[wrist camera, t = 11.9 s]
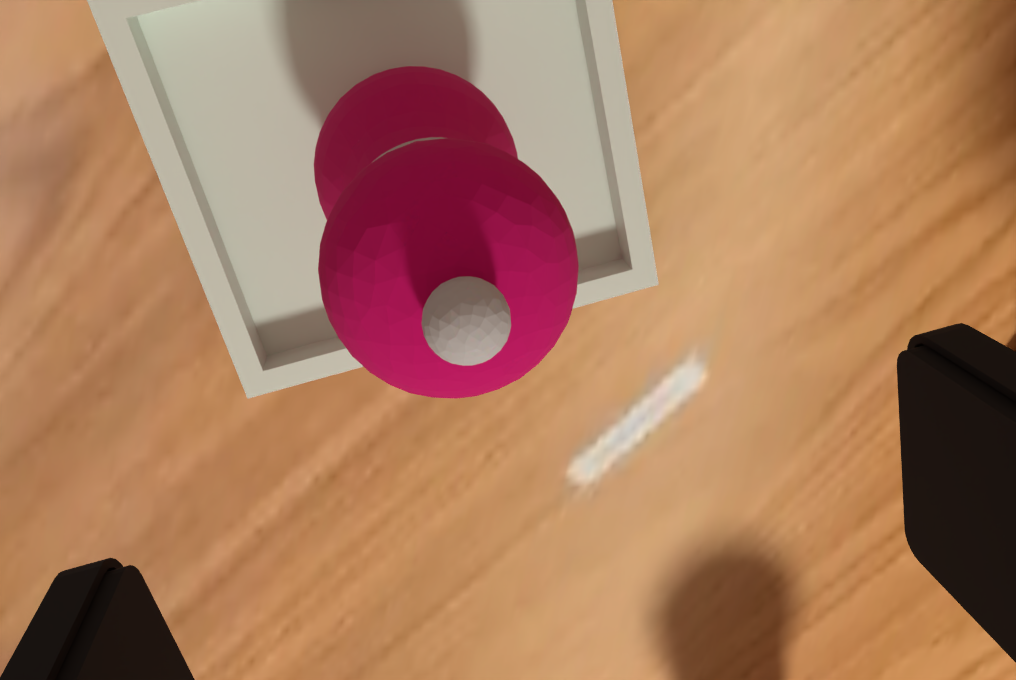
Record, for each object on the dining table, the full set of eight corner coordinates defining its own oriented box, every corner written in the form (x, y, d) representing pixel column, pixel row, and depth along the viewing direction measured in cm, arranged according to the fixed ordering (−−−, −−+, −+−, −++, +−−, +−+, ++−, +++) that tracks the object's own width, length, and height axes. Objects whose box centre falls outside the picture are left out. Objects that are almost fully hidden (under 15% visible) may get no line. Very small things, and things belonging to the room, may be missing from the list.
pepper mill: (309, 60, 32) (248, 154, 14) (497, 54, 33) (666, 133, 15) (328, 243, 35) (298, 520, 17) (501, 232, 36) (648, 482, 18)
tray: (576, -123, 32) (591, -130, 30) (642, 269, 39) (658, 284, 36) (102, -6, 31) (84, -6, 29) (253, 376, 37) (247, 398, 35)
